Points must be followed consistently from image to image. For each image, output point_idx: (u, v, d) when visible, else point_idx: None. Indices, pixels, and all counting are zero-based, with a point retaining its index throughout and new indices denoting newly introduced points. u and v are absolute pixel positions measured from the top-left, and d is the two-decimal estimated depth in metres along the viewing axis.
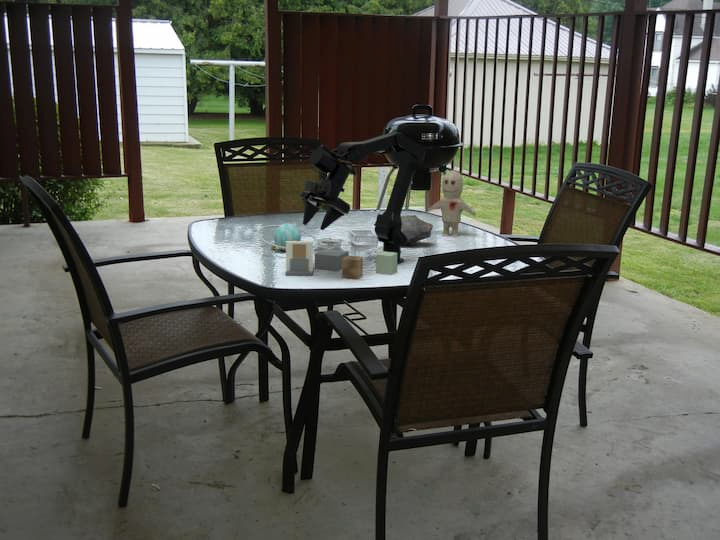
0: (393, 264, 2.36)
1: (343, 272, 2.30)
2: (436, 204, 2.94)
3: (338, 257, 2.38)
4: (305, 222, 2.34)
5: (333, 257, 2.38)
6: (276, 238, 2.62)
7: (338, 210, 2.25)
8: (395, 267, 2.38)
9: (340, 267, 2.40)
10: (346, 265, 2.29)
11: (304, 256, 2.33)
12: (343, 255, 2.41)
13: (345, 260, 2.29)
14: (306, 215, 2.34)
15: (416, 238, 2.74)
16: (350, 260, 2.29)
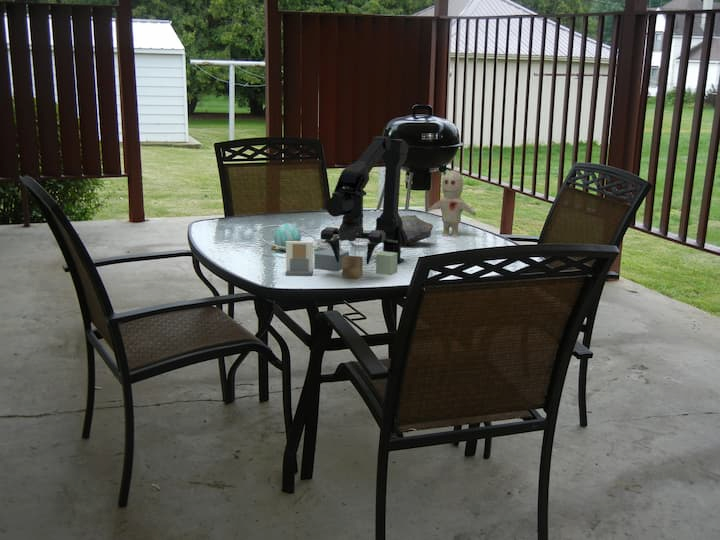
0: (393, 264, 2.36)
1: (343, 272, 2.30)
2: (436, 204, 2.94)
3: None
4: (338, 259, 2.32)
5: (332, 257, 2.38)
6: (276, 238, 2.62)
7: None
8: (395, 267, 2.38)
9: (339, 267, 2.40)
10: (346, 265, 2.29)
11: (304, 256, 2.33)
12: (343, 255, 2.41)
13: (345, 260, 2.29)
14: (337, 253, 2.31)
15: (416, 238, 2.74)
16: (350, 260, 2.29)
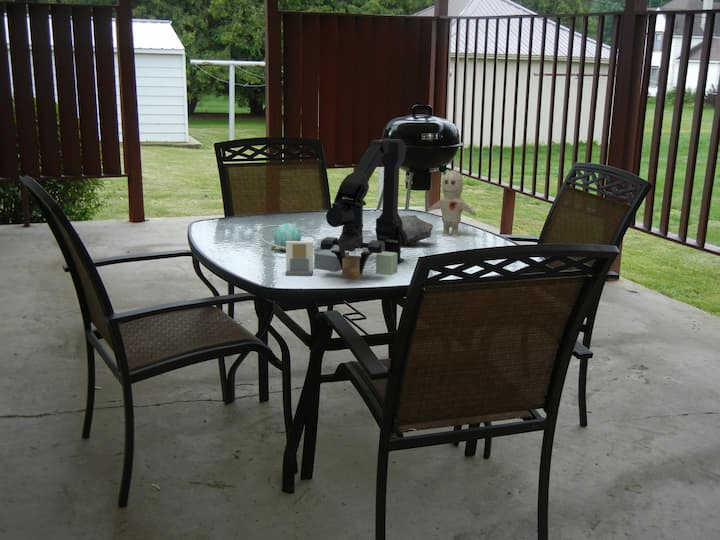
0: (393, 264, 2.36)
1: (343, 272, 2.30)
2: (436, 204, 2.94)
3: None
4: None
5: (332, 257, 2.38)
6: (276, 238, 2.62)
7: None
8: (395, 267, 2.38)
9: (339, 267, 2.40)
10: (346, 265, 2.29)
11: (304, 256, 2.33)
12: None
13: (345, 260, 2.29)
14: None
15: (416, 238, 2.74)
16: (350, 260, 2.29)
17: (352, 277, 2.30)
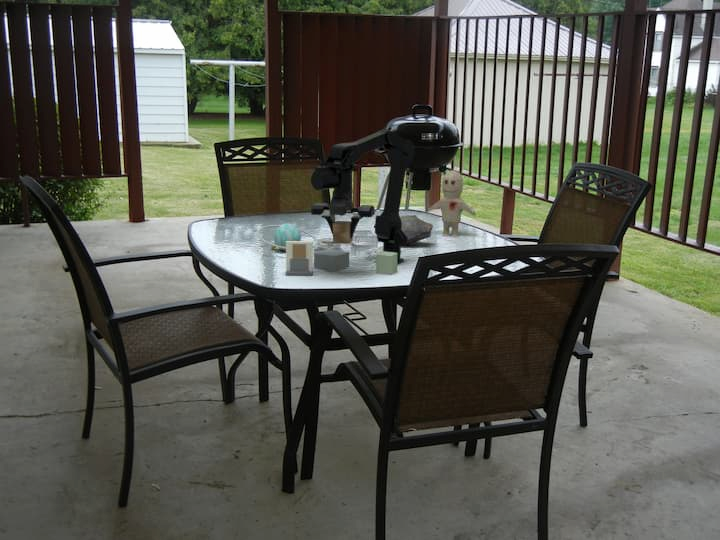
0: (393, 264, 2.36)
1: (334, 237, 2.33)
2: (436, 204, 2.94)
3: (336, 257, 2.38)
4: None
5: (331, 257, 2.38)
6: (276, 238, 2.62)
7: None
8: (395, 267, 2.38)
9: (338, 267, 2.40)
10: (337, 229, 2.32)
11: (304, 256, 2.33)
12: (342, 255, 2.41)
13: (335, 225, 2.32)
14: None
15: (416, 238, 2.74)
16: (340, 224, 2.32)
17: (343, 242, 2.33)
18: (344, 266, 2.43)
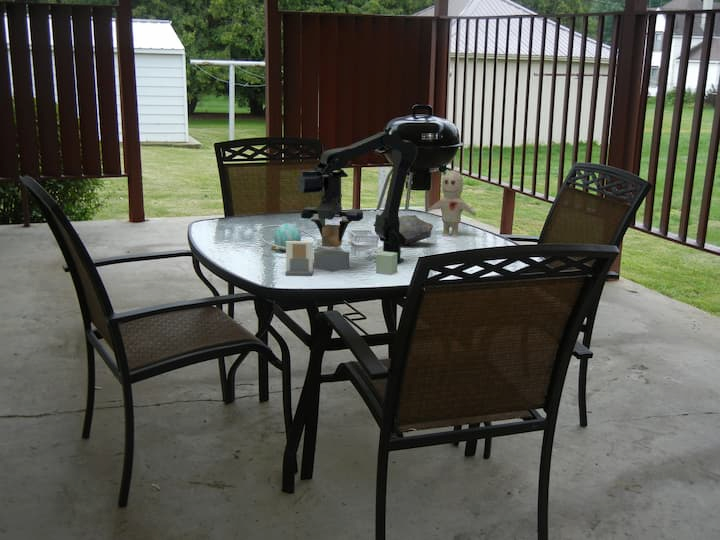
0: (393, 264, 2.36)
1: (323, 240, 2.40)
2: (436, 204, 2.94)
3: (335, 257, 2.38)
4: None
5: (330, 257, 2.38)
6: (276, 238, 2.62)
7: None
8: (395, 267, 2.38)
9: (337, 267, 2.40)
10: (326, 233, 2.39)
11: (304, 256, 2.33)
12: (342, 255, 2.41)
13: (325, 228, 2.39)
14: None
15: (416, 238, 2.74)
16: (329, 228, 2.38)
17: (331, 245, 2.39)
18: (344, 266, 2.43)
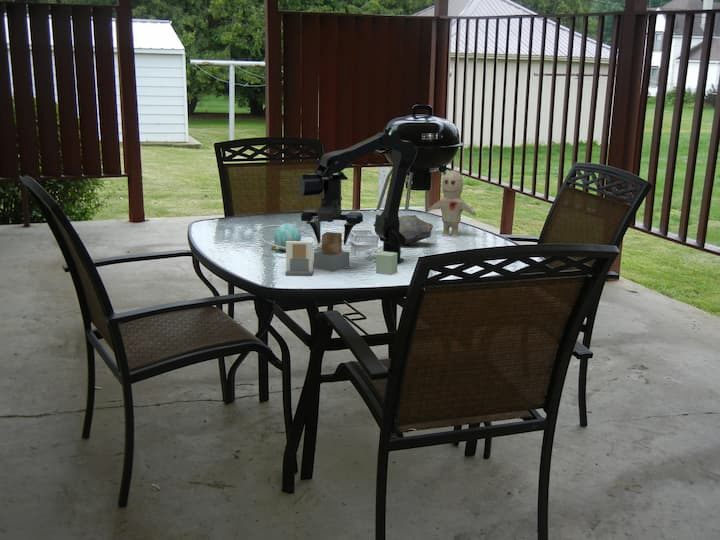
0: (393, 264, 2.36)
1: (322, 247, 2.40)
2: (436, 204, 2.94)
3: (334, 257, 2.38)
4: (319, 240, 2.43)
5: (329, 257, 2.38)
6: (276, 238, 2.62)
7: None
8: (395, 267, 2.38)
9: (337, 267, 2.40)
10: (325, 240, 2.40)
11: (304, 256, 2.33)
12: (342, 256, 2.41)
13: (324, 236, 2.39)
14: (318, 234, 2.42)
15: (416, 238, 2.74)
16: (329, 236, 2.39)
17: (331, 252, 2.40)
18: (344, 266, 2.42)
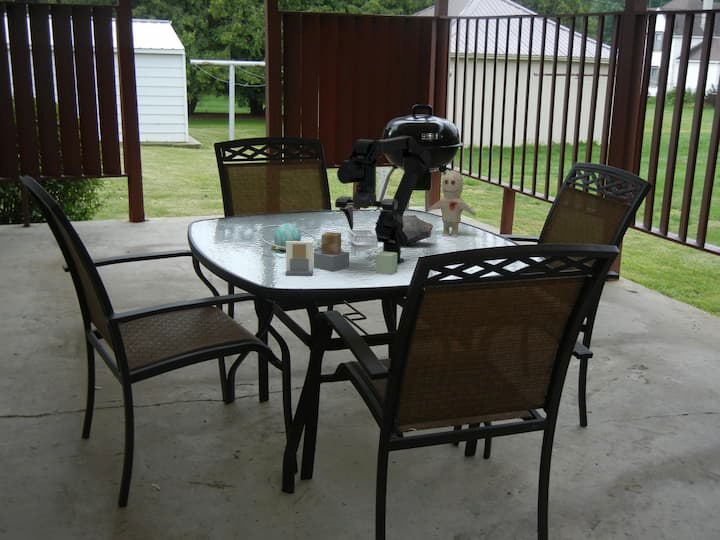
0: (393, 264, 2.36)
1: (322, 248, 2.40)
2: (436, 204, 2.94)
3: (334, 257, 2.38)
4: (352, 227, 2.41)
5: (329, 257, 2.38)
6: (276, 238, 2.62)
7: None
8: (395, 267, 2.38)
9: (337, 267, 2.40)
10: (325, 241, 2.40)
11: (304, 256, 2.33)
12: (341, 256, 2.41)
13: (324, 236, 2.39)
14: (351, 221, 2.40)
15: (416, 238, 2.74)
16: (329, 236, 2.39)
17: (331, 252, 2.40)
18: (343, 266, 2.42)
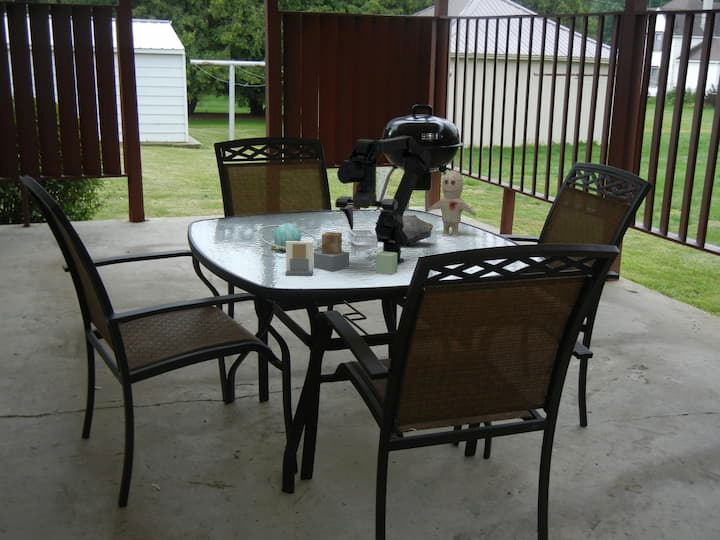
0: (393, 264, 2.36)
1: (323, 247, 2.41)
2: (436, 204, 2.94)
3: (334, 257, 2.38)
4: (352, 227, 2.41)
5: (329, 257, 2.38)
6: (276, 238, 2.62)
7: None
8: (395, 267, 2.38)
9: (336, 267, 2.40)
10: (326, 240, 2.40)
11: (304, 256, 2.33)
12: (341, 256, 2.40)
13: (324, 236, 2.40)
14: (351, 221, 2.40)
15: (416, 238, 2.74)
16: (329, 236, 2.39)
17: (331, 252, 2.40)
18: (343, 266, 2.42)
